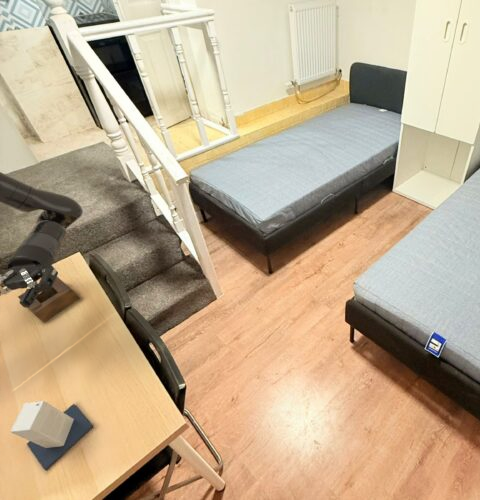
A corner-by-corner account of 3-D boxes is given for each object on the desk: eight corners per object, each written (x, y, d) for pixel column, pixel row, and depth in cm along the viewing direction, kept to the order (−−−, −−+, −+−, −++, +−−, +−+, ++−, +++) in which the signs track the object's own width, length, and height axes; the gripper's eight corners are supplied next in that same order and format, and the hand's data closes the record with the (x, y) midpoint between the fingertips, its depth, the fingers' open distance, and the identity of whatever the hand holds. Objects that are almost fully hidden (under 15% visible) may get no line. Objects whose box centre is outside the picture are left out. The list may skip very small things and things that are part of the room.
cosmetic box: (56, 421, 81) (24, 402, 72) (75, 419, 81) (44, 399, 73) (44, 449, 77) (8, 432, 68) (63, 447, 77) (30, 429, 68)
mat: (46, 470, 74) (44, 469, 74) (28, 444, 78) (26, 443, 78) (93, 426, 80) (92, 425, 80) (75, 404, 84) (73, 403, 84)
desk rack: (43, 322, 102) (33, 313, 99) (27, 306, 107) (17, 296, 104) (79, 298, 109) (71, 288, 105) (63, 283, 114) (54, 274, 110)
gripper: (-7, 247, 79) (-49, 302, 67) (57, 239, 80) (27, 292, 69) (14, 269, 84) (-22, 323, 72) (74, 261, 85) (48, 313, 74)
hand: (2, 308), depth 71 cm, fingers open, 8 cm apart
